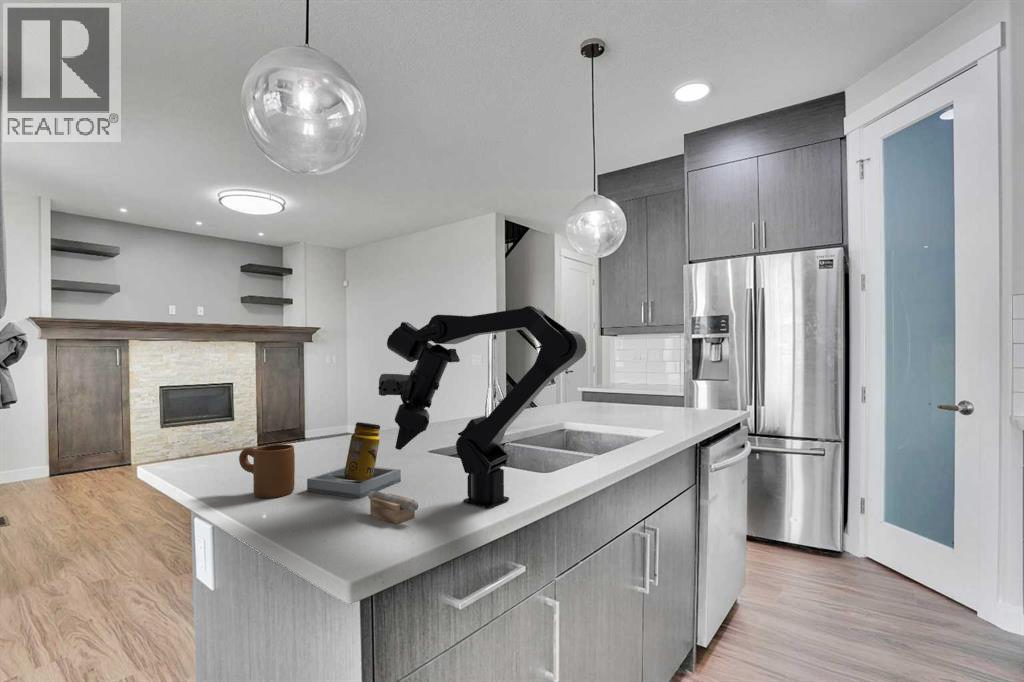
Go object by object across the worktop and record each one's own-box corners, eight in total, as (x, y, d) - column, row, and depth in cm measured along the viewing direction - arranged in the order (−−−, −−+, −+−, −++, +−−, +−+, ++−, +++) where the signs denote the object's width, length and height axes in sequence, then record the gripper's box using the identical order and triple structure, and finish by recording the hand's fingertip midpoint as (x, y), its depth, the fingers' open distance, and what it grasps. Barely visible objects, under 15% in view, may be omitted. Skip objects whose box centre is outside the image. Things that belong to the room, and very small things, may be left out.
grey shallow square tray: (400, 481, 109) (400, 469, 109) (360, 498, 96) (360, 485, 96) (351, 475, 114) (351, 464, 114) (307, 491, 101) (307, 478, 101)
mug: (225, 496, 98) (225, 449, 98) (253, 486, 106) (253, 442, 106) (277, 500, 96) (277, 451, 96) (302, 489, 103) (302, 444, 103)
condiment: (380, 482, 105) (390, 426, 107) (345, 481, 99) (356, 422, 101) (361, 477, 110) (371, 423, 112) (326, 476, 103) (338, 419, 106)
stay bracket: (425, 520, 83) (425, 499, 83) (407, 527, 80) (407, 505, 80) (378, 506, 91) (378, 487, 91) (360, 512, 88) (360, 492, 88)
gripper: (394, 346, 106) (368, 409, 109) (384, 372, 88) (354, 446, 91) (442, 365, 109) (416, 426, 111) (442, 393, 91) (410, 465, 93)
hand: (399, 439), depth 102 cm, fingers open, 9 cm apart
